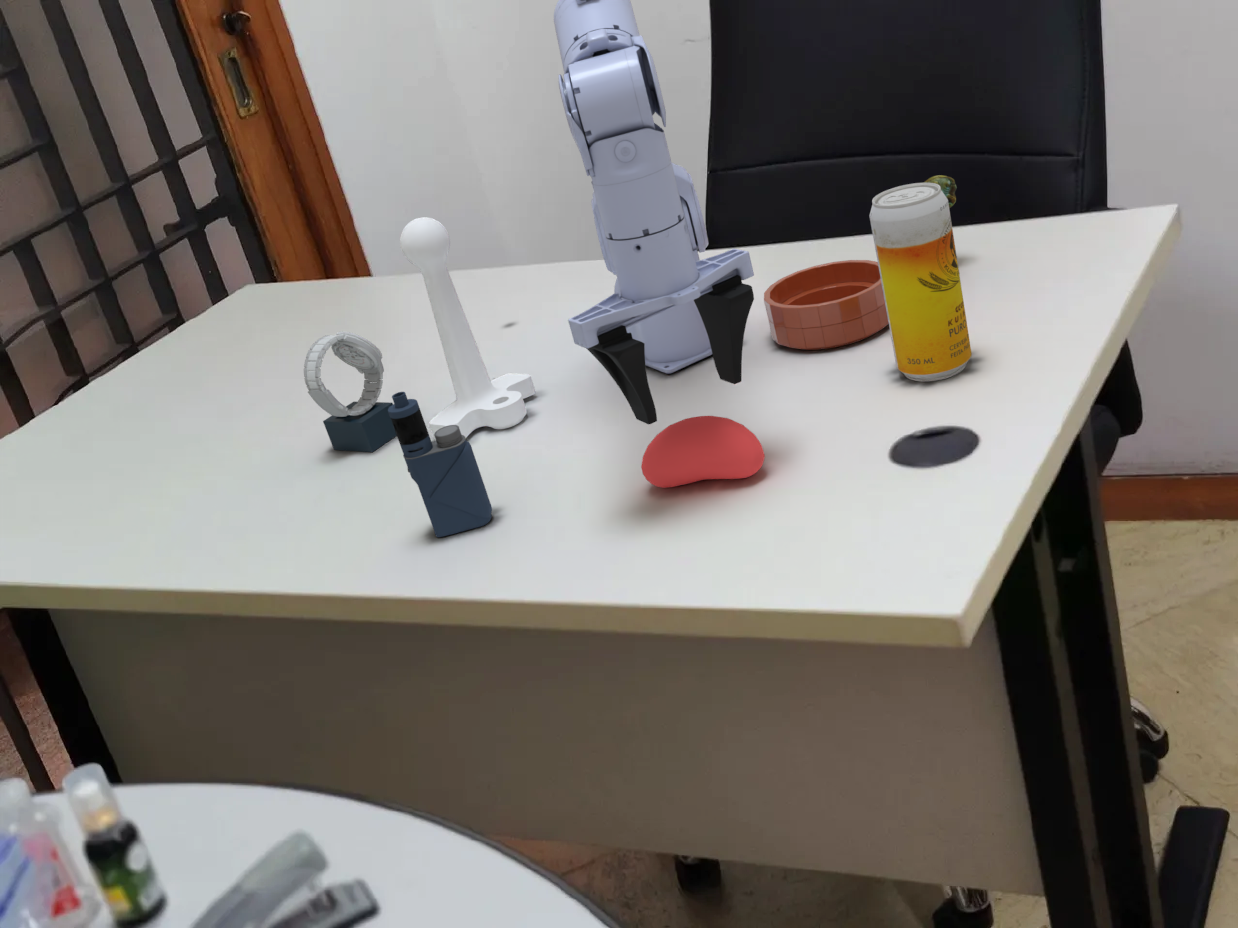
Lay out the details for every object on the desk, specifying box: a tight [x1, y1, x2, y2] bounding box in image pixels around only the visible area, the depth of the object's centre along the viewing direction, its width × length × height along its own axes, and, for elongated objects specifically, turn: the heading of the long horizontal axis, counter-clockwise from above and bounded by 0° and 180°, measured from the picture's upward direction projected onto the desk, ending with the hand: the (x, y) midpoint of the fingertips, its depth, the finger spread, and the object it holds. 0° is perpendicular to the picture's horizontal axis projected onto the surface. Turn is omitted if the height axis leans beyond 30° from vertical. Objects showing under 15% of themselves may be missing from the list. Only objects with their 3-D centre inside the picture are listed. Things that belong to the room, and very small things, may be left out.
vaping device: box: [388, 391, 493, 538], centre depth 100 cm, size 3×5×12 cm, turn 95°
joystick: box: [399, 216, 537, 441], centre depth 118 cm, size 11×8×20 cm
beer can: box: [868, 182, 973, 382], centre depth 104 cm, size 6×6×15 cm
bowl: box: [763, 259, 889, 351], centre depth 120 cm, size 12×12×4 cm
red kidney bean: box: [640, 415, 766, 489], centre depth 98 cm, size 5×9×6 cm, turn 65°
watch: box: [303, 330, 397, 453], centre depth 124 cm, size 6×8×11 cm
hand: (689, 399), depth 96 cm, fingers open, 7 cm apart
